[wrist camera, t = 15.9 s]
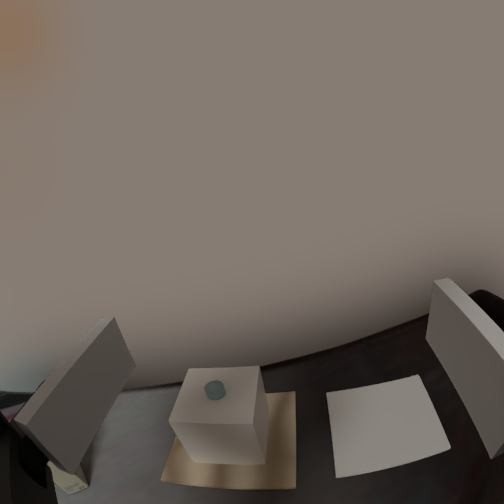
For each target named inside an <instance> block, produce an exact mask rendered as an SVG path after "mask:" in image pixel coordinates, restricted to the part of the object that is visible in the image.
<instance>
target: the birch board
mask: <svg viewBox="0 0 504 504" xmlns="http://www.w3.org/2000/svg"><path fill="white" fill-rule="evenodd" d="M266 398H267V403H268V407H269V425H268V439H267V452H266V464H260V465H240V464H214V463H200V462H193V460H192V459H191V457H190V456H189V454H188V453H187V451H186V449H185V448H184V446H183V445H182V443H181V442H180V440H179V438H178V437H177V435H176V437H175V440H174V443H173V446H172V449H171V451H170V454H169V457H168V460H167V463H166V466H165V469H164V472H163V475H162V478H161V480H162V481H164V482H170V483H176V484H183V485H191V486H199V487H209V488H221V489H241V490H278V489H296V399H295V391H292V392H281V393H267V394H266Z"/></svg>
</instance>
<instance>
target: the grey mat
mask: <svg viewBox="0 0 504 504" xmlns="http://www.w3.org/2000/svg"><path fill="white" fill-rule="evenodd" d="M326 395H327V403H328V410H329V418H330V426H331V435H332V444H333V453H334V463H335V474H336V478H341V477H347V476H353V475H359V474H364V473H369V472H374V471H378V470H383V469H387V468H391V467H395V466H399V465H403V464H406V463H410V462H413V461H416V460H420V459H423V458H426V457H429V456H432V455H435V454H438V453H441V452H443V451H446V450H449V449H450V448H451V447H450V444H449V442H448V439H447V437H446V434H445V432H444V430H443V427H442V425H441V422H440V420H439V418H438V416H437V413H436V411H435V409H434V407H433V404H432V402H431V400H430V398H429V396H428V393H427V391H426V389H425V387H424V385H423V383H422V381H421V379H420V377H419V375H415V376H412V377H407V378H403V379H399V380H395V381H390V382H386V383H381V384H376V385H371V386H366V387H360V388H354V389H348V390H342V391H335V392H328V393H326Z"/></svg>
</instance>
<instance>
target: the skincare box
mask: <svg viewBox="0 0 504 504" xmlns="http://www.w3.org/2000/svg"><path fill="white" fill-rule="evenodd" d="M47 465H48V466H49V467H50V468H51V471H52V476H53V481H54V482H55V483H56V484H57V485H58V486H59V487H61V488H62V489H63V490H64V491H65V492H66V493H68V494H69V495H70V494H73V493H75V492H78V491H80V490H82V489H85V488H87V487H88V483H87V480H86V478H85V475H84V473H83V470H82V468H81V466H80V464H79V465H78V467H77V469H76V471H75V473H74V475H71V474H69V473H66V472H64V471H62V470H59V469H58V468H57V467H56V466H55V465H54V464H53V463H52V462H51V461H50V460H49V462H48V464H47Z"/></svg>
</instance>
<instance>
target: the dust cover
mask: <svg viewBox="0 0 504 504" xmlns="http://www.w3.org/2000/svg"><path fill="white" fill-rule="evenodd" d="M168 422H169V423H170V425H171V427H172V428H173V430H174V432H175V433H176V435H177V437H178V438H179V440H180V442H181V443H182V445H183V446H184V448H185V449H186V451H187V453H188V454H189V456H190V457H191V459H192V460H193V462H200V463H214V464H240V465H260V464H266V452H267V439H268V425H269V407H268V403H267V398H266V394H265V389H264V385H263V380H262V376H261V371H260V366H248V367H228V368H194V369H192V368H191V369H188V372H187V375H186V377H185V380H184V382H183V385H182V387H181V390H180V392H179V395H178V397H177V400H176V402H175V405H174V408H173V410H172V413H171V415H170V418H169V420H168Z"/></svg>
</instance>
